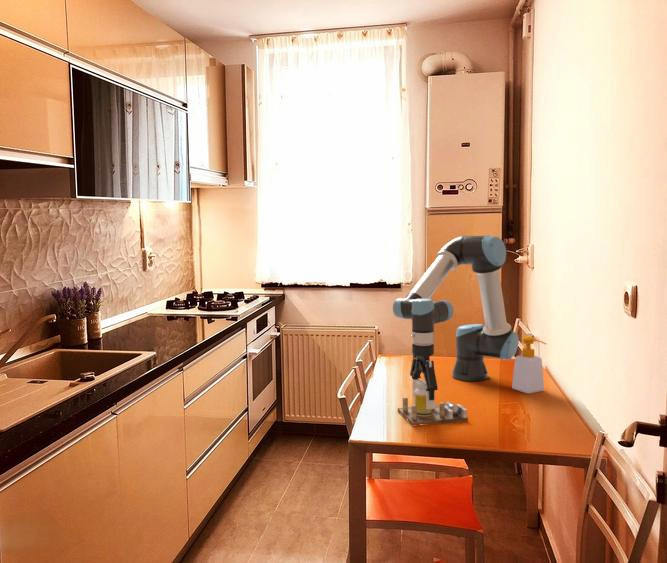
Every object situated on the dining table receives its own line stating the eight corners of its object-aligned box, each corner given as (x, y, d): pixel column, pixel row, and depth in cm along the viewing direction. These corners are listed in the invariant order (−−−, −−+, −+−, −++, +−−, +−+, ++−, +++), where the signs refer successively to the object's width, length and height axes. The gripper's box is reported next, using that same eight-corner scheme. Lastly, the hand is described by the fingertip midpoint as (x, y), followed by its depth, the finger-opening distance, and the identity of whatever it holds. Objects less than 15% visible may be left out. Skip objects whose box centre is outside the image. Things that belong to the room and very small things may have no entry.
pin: (444, 410, 205) (444, 401, 205) (451, 409, 206) (451, 401, 205) (452, 416, 198) (452, 408, 198) (460, 415, 199) (460, 407, 199)
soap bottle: (536, 398, 221) (537, 341, 218) (510, 389, 233) (510, 335, 231) (554, 394, 225) (555, 338, 223) (527, 385, 237) (528, 332, 235)
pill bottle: (432, 418, 198) (432, 385, 197) (413, 417, 199) (413, 384, 198) (433, 411, 204) (433, 380, 203) (414, 411, 205) (414, 379, 204)
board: (397, 411, 209) (397, 394, 209) (448, 406, 213) (448, 390, 213) (412, 426, 194) (412, 408, 193) (467, 420, 198) (467, 403, 197)
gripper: (401, 337, 210) (401, 393, 213) (425, 351, 186) (426, 415, 188) (420, 335, 212) (420, 391, 214) (447, 350, 188) (447, 413, 190)
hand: (423, 402), depth 201 cm, fingers open, 13 cm apart
